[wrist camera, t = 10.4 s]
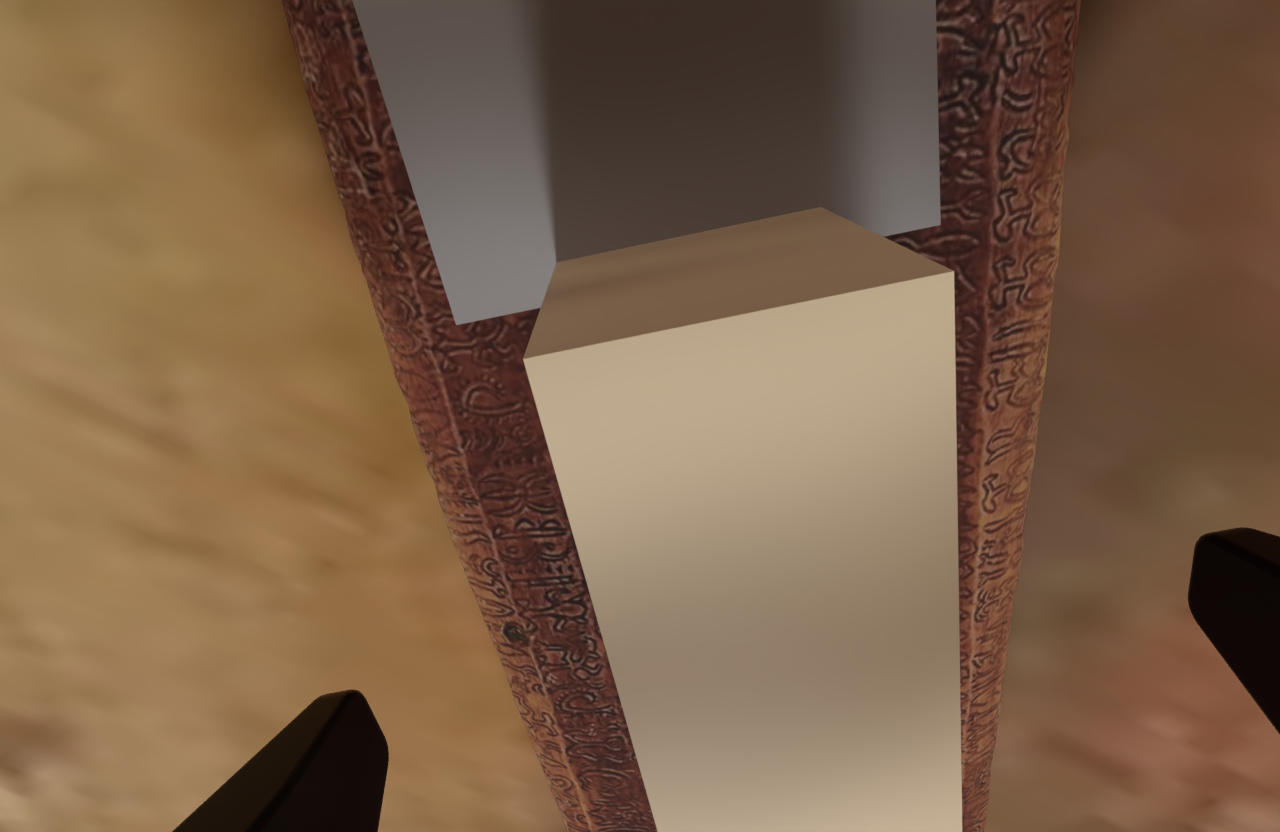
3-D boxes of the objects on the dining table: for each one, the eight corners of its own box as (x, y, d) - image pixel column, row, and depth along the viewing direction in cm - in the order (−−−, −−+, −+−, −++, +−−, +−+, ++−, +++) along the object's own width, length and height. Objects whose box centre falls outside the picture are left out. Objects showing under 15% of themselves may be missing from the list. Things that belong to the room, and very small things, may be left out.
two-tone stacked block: (923, 598, 12) (1088, 858, 8) (580, 660, 12) (564, 943, 8) (890, -213, 7) (1234, -602, 3) (351, -85, 8) (60, -299, 4)
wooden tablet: (999, 1008, 17) (600, 1116, 16) (949, 914, 19) (591, 1007, 18) (1175, -585, 7) (68, -489, 6) (1022, -418, 9) (188, -330, 8)
